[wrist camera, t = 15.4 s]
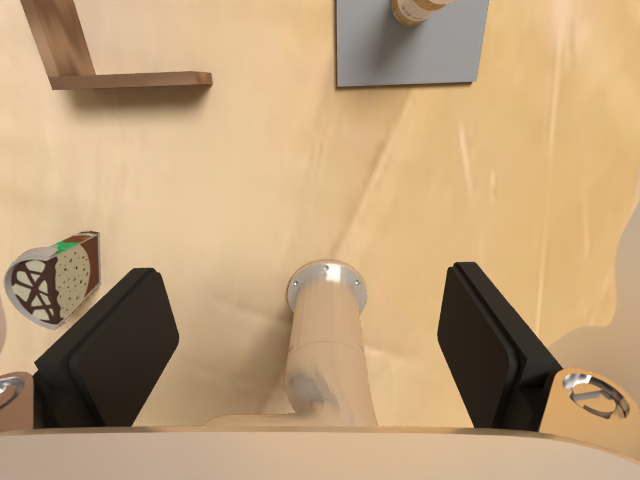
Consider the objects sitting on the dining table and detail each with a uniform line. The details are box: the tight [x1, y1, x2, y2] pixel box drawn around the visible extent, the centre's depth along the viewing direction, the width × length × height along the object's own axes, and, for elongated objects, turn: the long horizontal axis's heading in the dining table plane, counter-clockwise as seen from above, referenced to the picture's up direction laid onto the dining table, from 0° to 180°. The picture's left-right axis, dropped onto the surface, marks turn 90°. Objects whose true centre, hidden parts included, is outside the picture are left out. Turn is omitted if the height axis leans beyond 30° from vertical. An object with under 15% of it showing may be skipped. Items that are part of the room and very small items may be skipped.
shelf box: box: [20, 0, 213, 90], centre depth 33 cm, size 14×15×6 cm
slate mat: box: [336, 0, 489, 87], centre depth 35 cm, size 16×16×1 cm
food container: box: [4, 231, 101, 330], centre depth 45 cm, size 12×6×10 cm, turn 165°
